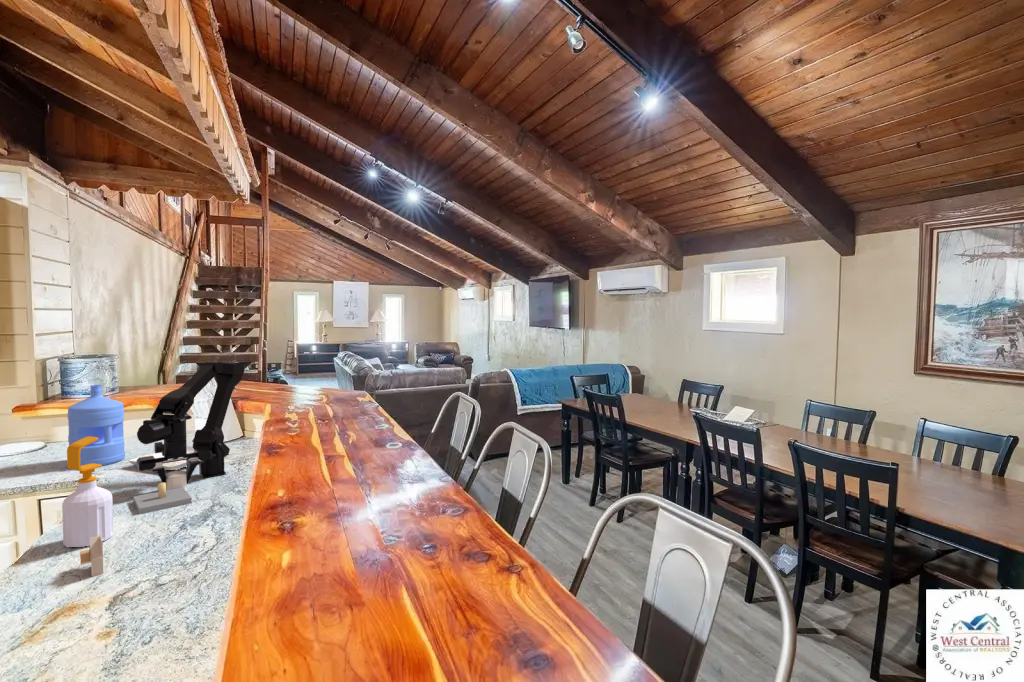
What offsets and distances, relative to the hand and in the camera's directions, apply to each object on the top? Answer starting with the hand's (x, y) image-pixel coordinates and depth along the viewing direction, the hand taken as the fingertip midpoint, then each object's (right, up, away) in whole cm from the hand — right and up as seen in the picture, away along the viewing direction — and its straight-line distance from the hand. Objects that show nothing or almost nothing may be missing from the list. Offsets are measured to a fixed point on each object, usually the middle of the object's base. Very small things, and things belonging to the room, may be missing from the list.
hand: (176, 486), depth 152 cm
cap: (0, -1, 0) cm, 1 cm away
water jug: (-47, +1, +27) cm, 54 cm away
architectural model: (+16, -4, -48) cm, 51 cm away
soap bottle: (+3, -3, -35) cm, 35 cm away
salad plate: (-18, 0, +27) cm, 33 cm away
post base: (+3, -2, -11) cm, 11 cm away
